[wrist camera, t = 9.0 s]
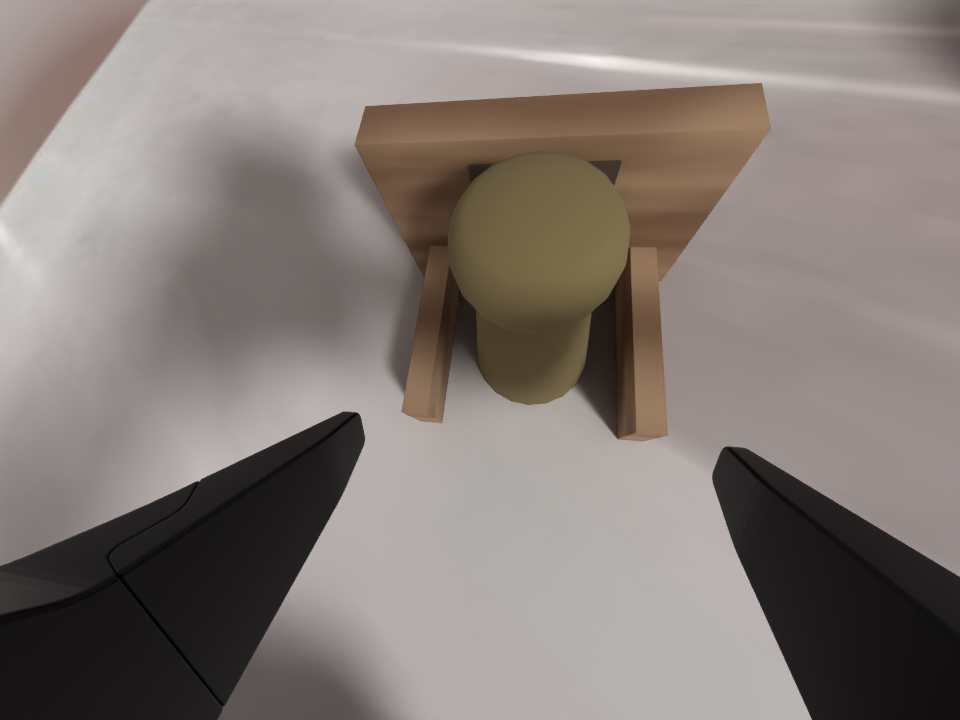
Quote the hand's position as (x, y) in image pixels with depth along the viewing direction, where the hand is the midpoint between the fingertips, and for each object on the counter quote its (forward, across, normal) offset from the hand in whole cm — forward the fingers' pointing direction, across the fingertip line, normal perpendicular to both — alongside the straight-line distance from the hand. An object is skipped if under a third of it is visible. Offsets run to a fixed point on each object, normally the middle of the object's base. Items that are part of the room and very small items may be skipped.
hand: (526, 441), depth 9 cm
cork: (+11, 0, +2) cm, 11 cm away
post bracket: (+10, 0, +2) cm, 11 cm away
